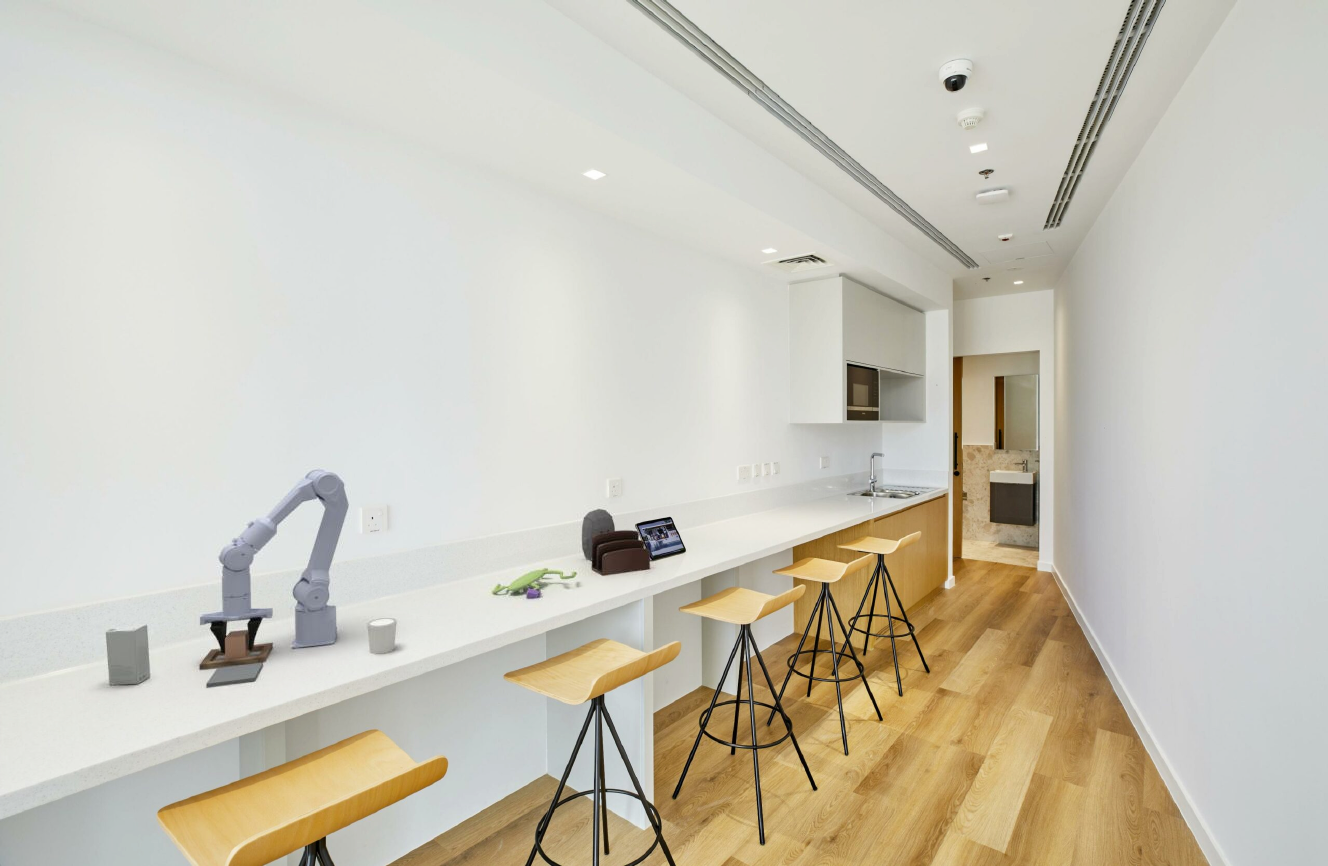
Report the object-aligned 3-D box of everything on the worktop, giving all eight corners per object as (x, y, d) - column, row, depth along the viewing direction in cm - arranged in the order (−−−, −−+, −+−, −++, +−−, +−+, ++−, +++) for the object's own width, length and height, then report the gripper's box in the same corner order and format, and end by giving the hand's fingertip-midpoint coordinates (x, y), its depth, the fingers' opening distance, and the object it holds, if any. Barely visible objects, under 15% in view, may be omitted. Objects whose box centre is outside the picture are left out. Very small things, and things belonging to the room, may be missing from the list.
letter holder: (590, 570, 244) (591, 532, 243) (637, 564, 254) (637, 528, 253) (602, 576, 235) (602, 537, 235) (650, 569, 245) (650, 532, 245)
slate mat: (263, 666, 152) (262, 662, 152) (254, 681, 144) (254, 677, 144) (217, 671, 149) (217, 668, 149) (206, 687, 140) (206, 683, 140)
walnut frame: (272, 647, 164) (272, 642, 164) (265, 662, 154) (264, 657, 154) (211, 654, 159) (211, 649, 159) (199, 669, 150) (199, 664, 150)
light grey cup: (402, 647, 164) (402, 620, 164) (378, 656, 158) (378, 628, 158) (385, 642, 168) (385, 615, 167) (361, 651, 162) (360, 623, 162)
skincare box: (151, 676, 146) (149, 623, 145) (137, 685, 141) (135, 630, 141) (121, 677, 145) (120, 623, 145) (106, 686, 141) (104, 630, 140)
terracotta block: (249, 653, 160) (249, 629, 160) (245, 661, 155) (244, 636, 155) (230, 655, 158) (230, 631, 158) (225, 663, 154) (225, 638, 153)
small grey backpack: (608, 554, 270) (608, 506, 269) (620, 557, 263) (621, 508, 262) (577, 559, 260) (577, 509, 259) (589, 563, 254) (589, 512, 253)
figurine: (584, 586, 223) (584, 570, 223) (522, 604, 202) (522, 586, 202) (547, 577, 234) (547, 561, 234) (485, 593, 213) (485, 576, 213)
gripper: (195, 602, 150) (196, 660, 150) (268, 595, 155) (269, 652, 156) (204, 593, 156) (205, 649, 157) (273, 588, 162) (274, 642, 162)
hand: (237, 650), depth 157 cm, fingers open, 5 cm apart
